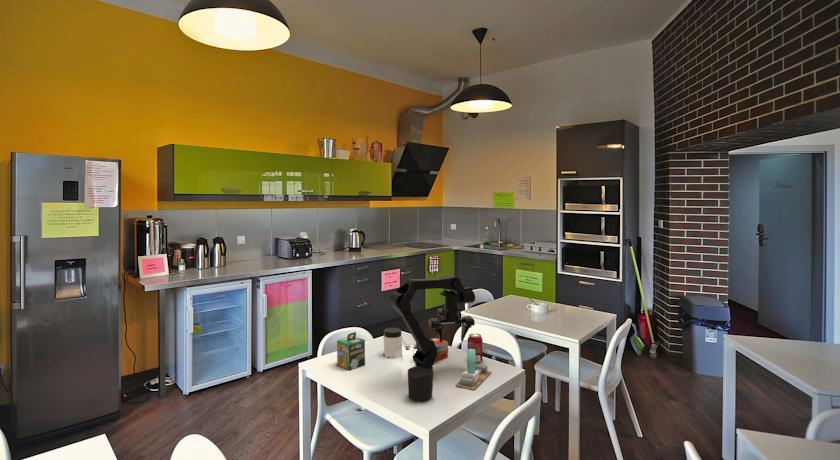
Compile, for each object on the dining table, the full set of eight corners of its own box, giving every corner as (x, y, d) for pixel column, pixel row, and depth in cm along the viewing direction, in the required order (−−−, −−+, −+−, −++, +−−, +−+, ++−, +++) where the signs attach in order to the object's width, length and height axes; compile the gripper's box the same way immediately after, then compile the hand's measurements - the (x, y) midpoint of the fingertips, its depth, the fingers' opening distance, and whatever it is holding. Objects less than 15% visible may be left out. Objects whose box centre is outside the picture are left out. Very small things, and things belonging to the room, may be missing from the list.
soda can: (481, 364, 198) (482, 337, 198) (466, 363, 200) (466, 336, 199) (482, 359, 205) (483, 333, 204) (468, 358, 206) (468, 332, 205)
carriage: (474, 383, 175) (475, 352, 174) (462, 381, 177) (463, 350, 177) (479, 379, 180) (479, 349, 179) (467, 376, 182) (467, 347, 181)
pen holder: (425, 389, 172) (425, 364, 171) (437, 399, 163) (437, 372, 163) (403, 394, 167) (403, 368, 167) (415, 405, 159) (414, 377, 158)
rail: (474, 390, 171) (474, 382, 171) (455, 386, 175) (455, 378, 174) (491, 372, 188) (491, 365, 188) (473, 369, 192) (473, 362, 192)
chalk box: (353, 360, 204) (352, 328, 203) (365, 365, 198) (365, 332, 197) (336, 365, 197) (335, 332, 196) (349, 370, 191) (348, 336, 190)
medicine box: (435, 353, 213) (435, 337, 212) (448, 357, 207) (448, 340, 207) (413, 362, 202) (413, 344, 201) (426, 366, 196) (426, 348, 196)
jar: (391, 359, 204) (391, 333, 204) (379, 355, 210) (379, 330, 209) (405, 354, 211) (405, 329, 210) (394, 350, 216) (394, 326, 216)
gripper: (466, 300, 198) (466, 334, 199) (425, 302, 194) (425, 337, 195) (475, 305, 187) (474, 342, 188) (431, 308, 183) (431, 345, 184)
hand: (451, 341), depth 189 cm, fingers open, 9 cm apart
